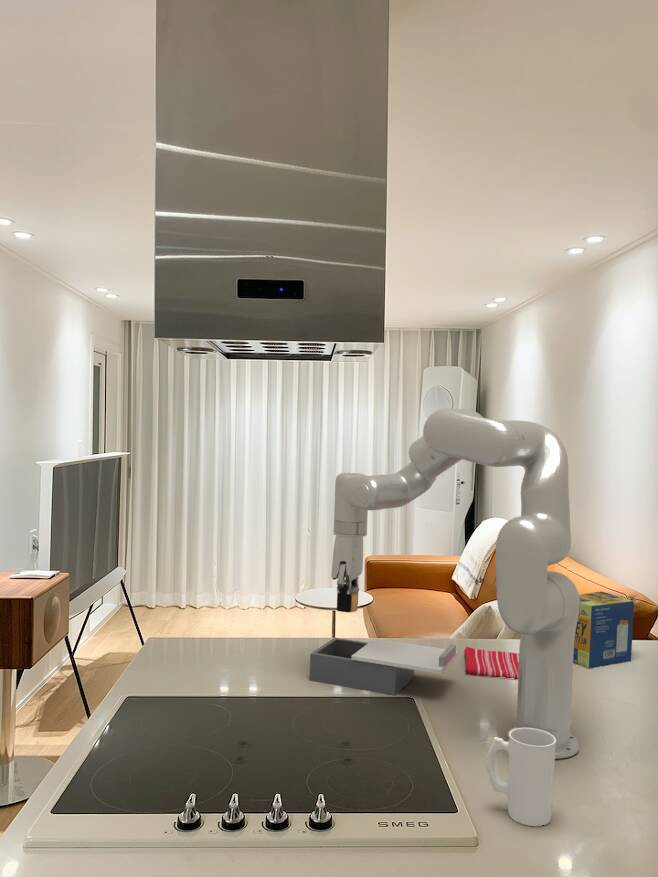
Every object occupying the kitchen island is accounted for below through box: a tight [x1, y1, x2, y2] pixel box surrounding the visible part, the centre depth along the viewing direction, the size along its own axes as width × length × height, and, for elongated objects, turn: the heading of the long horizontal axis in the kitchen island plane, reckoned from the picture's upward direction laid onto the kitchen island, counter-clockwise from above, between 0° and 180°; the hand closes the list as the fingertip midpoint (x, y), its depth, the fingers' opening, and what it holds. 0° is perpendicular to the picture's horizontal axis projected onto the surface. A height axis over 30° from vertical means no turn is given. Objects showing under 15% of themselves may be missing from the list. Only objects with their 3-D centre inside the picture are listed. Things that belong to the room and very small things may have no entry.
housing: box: [309, 637, 415, 696], centre depth 172 cm, size 14×20×6 cm
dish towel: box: [464, 646, 519, 680], centre depth 182 cm, size 17×24×3 cm
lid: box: [351, 638, 459, 675], centre depth 168 cm, size 15×20×3 cm
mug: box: [485, 728, 556, 827], centre depth 114 cm, size 10×7×12 cm, turn 68°
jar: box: [336, 585, 360, 613], centre depth 171 cm, size 5×5×5 cm
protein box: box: [573, 591, 635, 669], centre depth 191 cm, size 10×15×16 cm
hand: (347, 607), depth 171 cm, fingers closed on jar, 4 cm apart
